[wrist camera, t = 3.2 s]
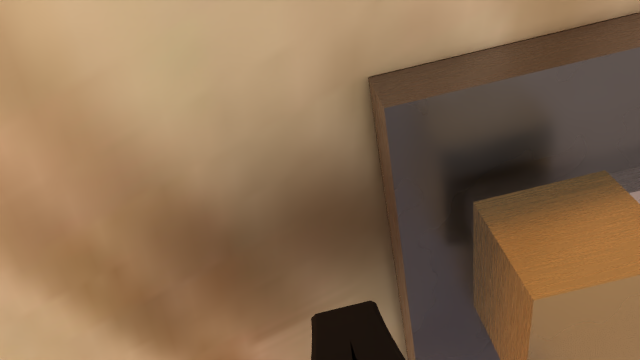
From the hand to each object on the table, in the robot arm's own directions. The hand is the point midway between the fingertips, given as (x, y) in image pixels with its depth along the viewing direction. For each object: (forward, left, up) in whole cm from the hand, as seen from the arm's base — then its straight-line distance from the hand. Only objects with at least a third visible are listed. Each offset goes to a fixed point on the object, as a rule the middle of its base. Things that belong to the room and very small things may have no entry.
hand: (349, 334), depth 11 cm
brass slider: (-2, -5, -2) cm, 6 cm away
